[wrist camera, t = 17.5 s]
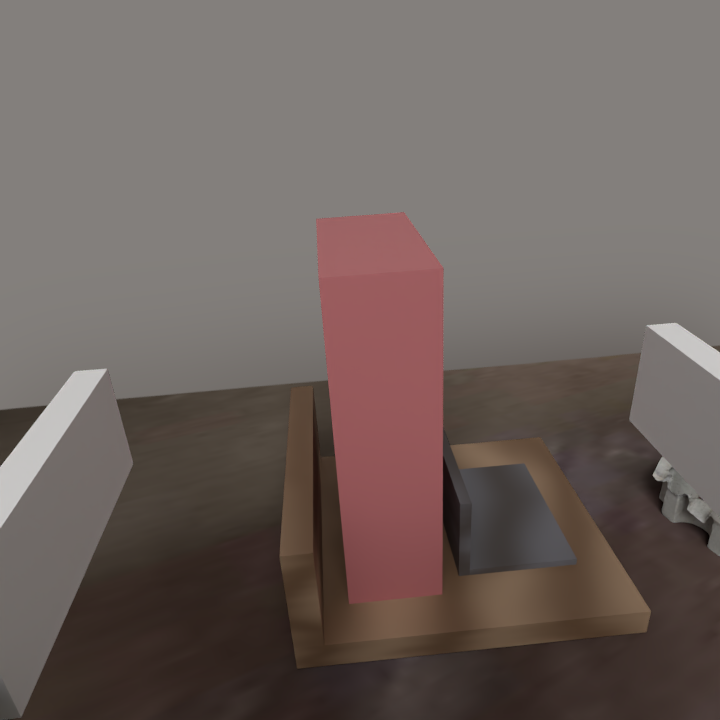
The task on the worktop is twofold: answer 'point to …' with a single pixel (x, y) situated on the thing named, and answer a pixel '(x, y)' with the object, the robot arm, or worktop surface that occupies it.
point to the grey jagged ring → (686, 503)
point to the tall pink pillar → (385, 401)
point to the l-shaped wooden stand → (454, 559)
